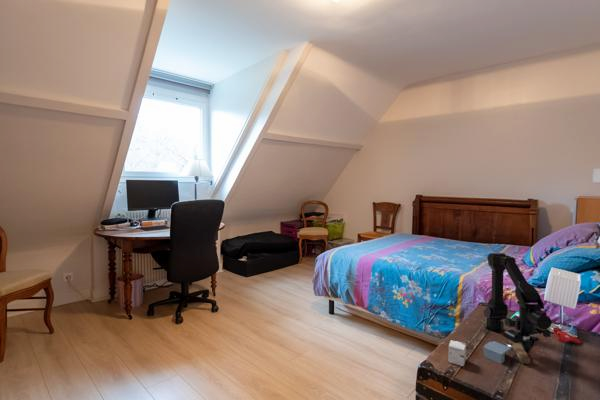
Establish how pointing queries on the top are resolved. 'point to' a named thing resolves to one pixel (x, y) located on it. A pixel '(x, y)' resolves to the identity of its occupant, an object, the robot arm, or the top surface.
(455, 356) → the skincare box
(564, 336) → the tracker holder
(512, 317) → the handheld game console
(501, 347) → the block
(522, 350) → the link
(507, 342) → the pintle
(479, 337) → the top surface
